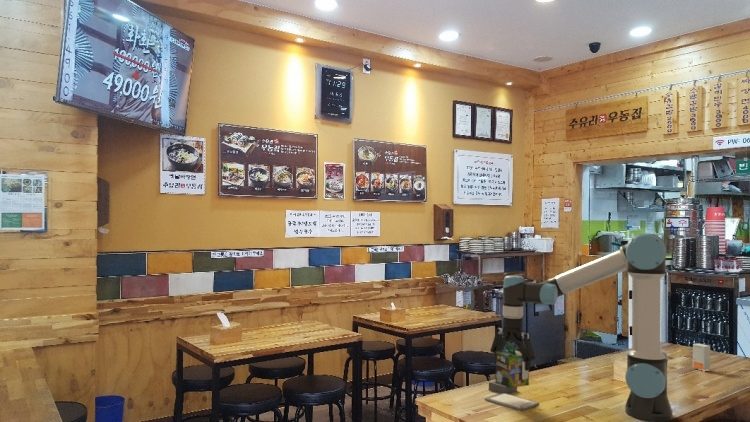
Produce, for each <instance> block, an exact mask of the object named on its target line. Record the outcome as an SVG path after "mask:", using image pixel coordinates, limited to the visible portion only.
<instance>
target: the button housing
mask: <svg viewBox="0 0 750 422" xmlns="http://www.w3.org/2000/svg"><path fill="white" fill-rule="evenodd" d="M488 390H489V391H491V392H495V393H497V394H500V393H507V394H512V393H515V392H518V387H510V388H508V387H506V386H504V385H501V384H497V381H495V380H493V381H492V380H491V381H490V382H488Z"/></svg>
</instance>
